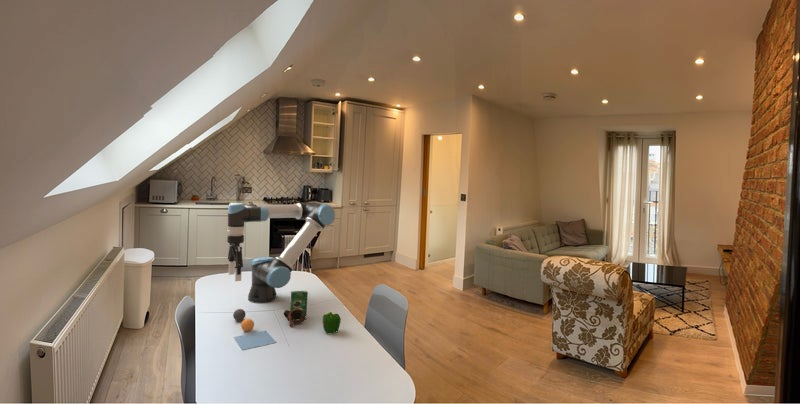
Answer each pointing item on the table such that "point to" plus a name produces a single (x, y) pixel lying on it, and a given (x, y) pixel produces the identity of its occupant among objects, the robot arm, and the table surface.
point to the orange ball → (247, 325)
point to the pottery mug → (295, 317)
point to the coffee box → (299, 301)
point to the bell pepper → (331, 322)
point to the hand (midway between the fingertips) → (234, 277)
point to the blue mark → (254, 340)
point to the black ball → (239, 314)
